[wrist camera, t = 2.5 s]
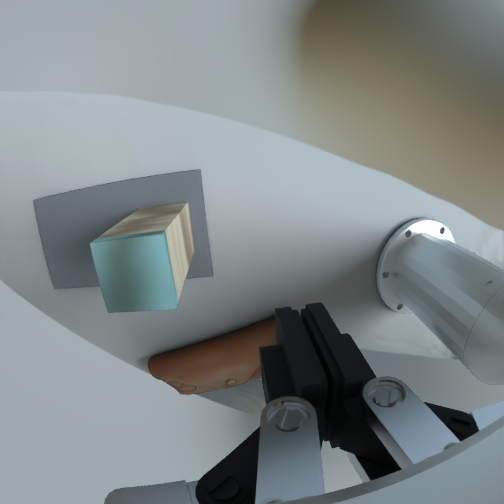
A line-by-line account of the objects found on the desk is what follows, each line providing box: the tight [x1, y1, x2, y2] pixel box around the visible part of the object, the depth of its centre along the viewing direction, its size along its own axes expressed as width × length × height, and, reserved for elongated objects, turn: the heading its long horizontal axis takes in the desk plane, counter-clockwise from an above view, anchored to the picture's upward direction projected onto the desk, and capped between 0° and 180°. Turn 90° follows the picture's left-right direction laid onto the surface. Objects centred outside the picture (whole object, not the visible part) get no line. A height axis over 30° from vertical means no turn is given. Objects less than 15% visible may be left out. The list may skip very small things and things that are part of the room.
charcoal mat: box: [34, 170, 213, 289], centre depth 29 cm, size 20×11×1 cm, turn 94°
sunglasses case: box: [148, 316, 277, 395], centre depth 34 cm, size 18×7×7 cm
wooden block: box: [90, 202, 195, 313], centre depth 23 cm, size 5×5×12 cm
